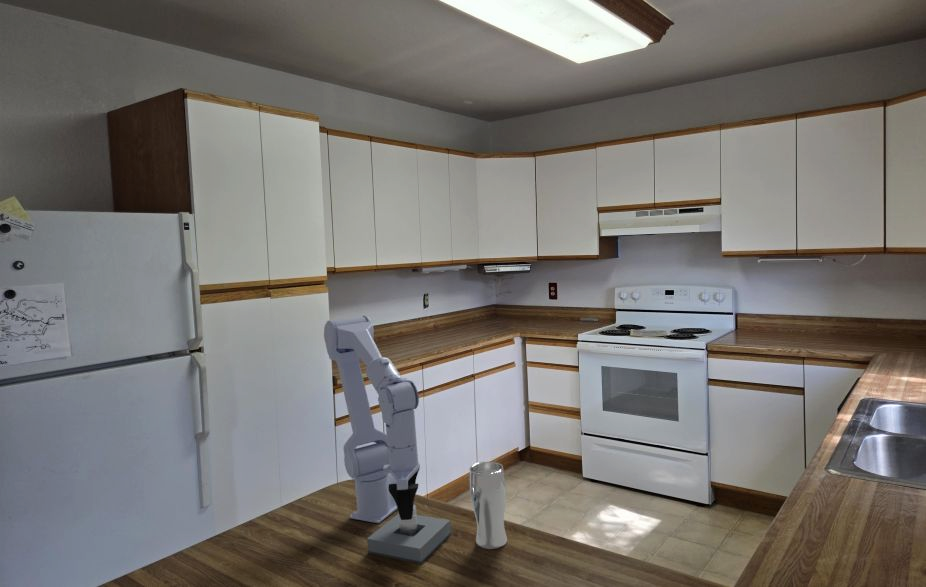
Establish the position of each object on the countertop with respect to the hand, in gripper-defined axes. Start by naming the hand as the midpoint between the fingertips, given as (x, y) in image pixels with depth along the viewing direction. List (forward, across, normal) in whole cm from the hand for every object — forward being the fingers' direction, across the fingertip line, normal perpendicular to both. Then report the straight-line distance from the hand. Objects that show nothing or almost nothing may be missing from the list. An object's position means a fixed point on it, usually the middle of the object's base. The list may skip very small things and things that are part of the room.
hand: (407, 510), depth 124 cm
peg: (+6, 0, 0) cm, 6 cm away
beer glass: (+7, +2, +16) cm, 18 cm away
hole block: (+7, 0, 0) cm, 7 cm away
